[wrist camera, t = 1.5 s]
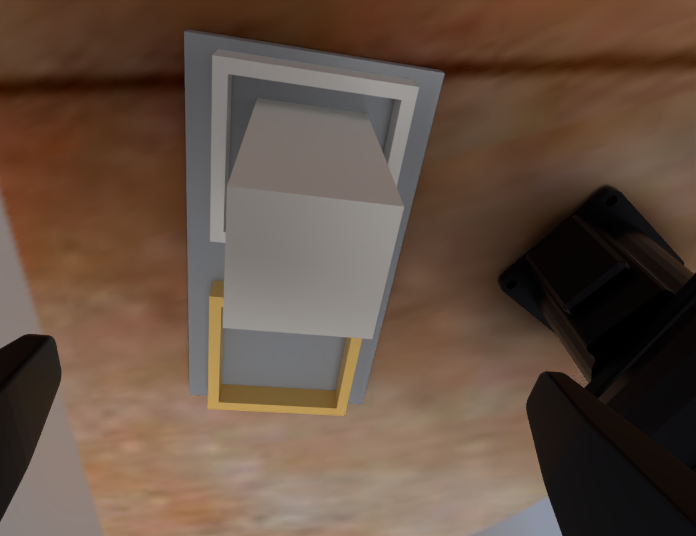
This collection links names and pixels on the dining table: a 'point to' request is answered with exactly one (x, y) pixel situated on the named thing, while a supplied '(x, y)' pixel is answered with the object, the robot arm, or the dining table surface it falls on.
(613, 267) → the robot arm
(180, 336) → the dining table surface
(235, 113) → the socket panel
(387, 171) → the plug
